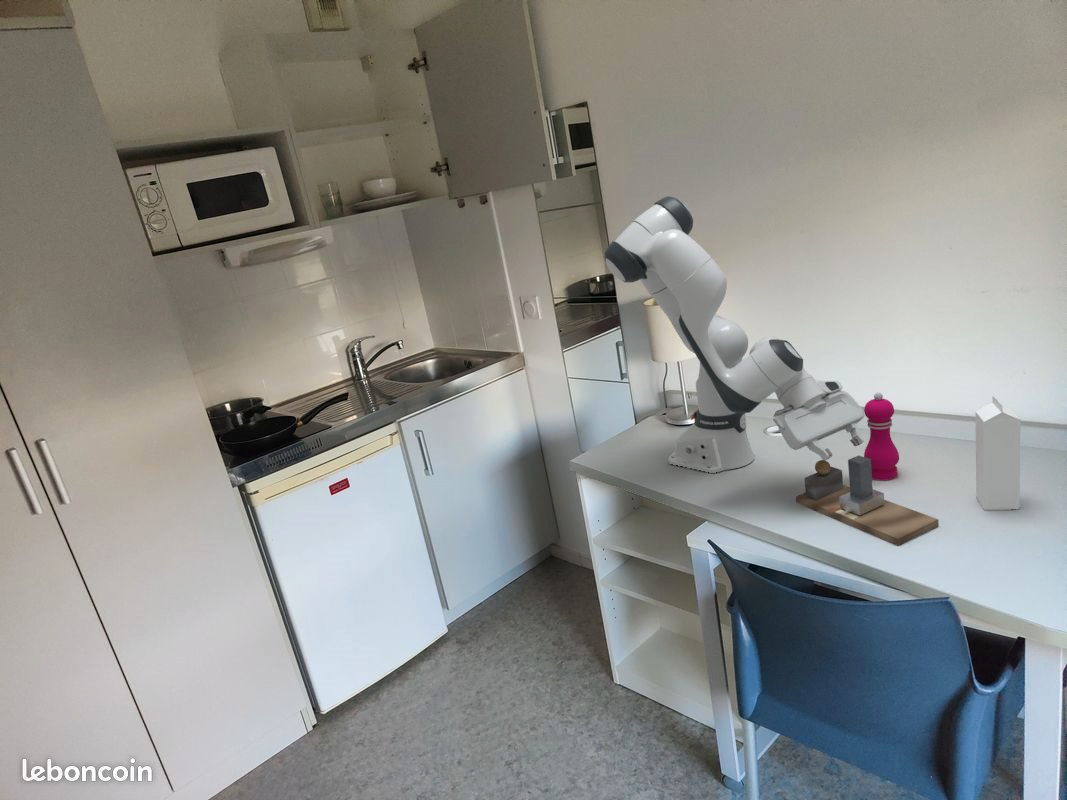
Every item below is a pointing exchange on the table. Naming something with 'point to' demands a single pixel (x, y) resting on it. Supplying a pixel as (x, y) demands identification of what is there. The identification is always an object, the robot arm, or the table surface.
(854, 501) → the handle
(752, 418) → the table surface
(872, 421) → the pepper mill
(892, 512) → the base
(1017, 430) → the milk
